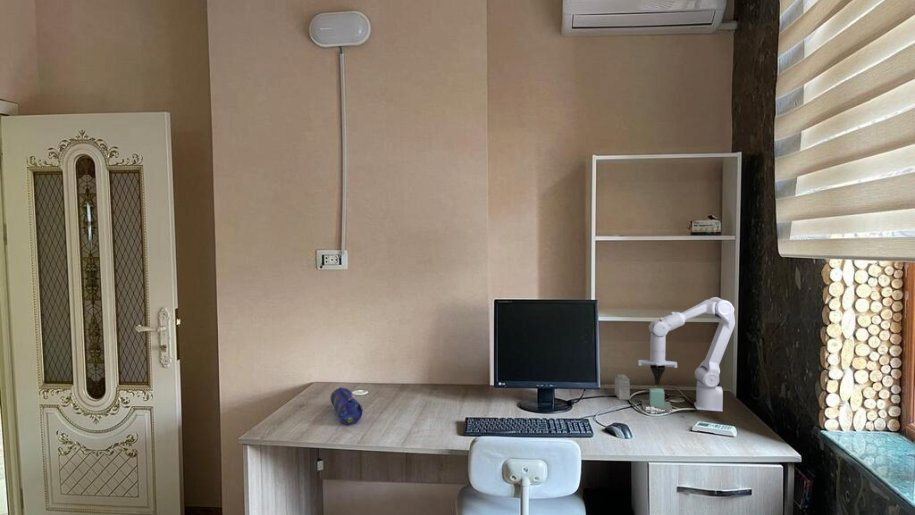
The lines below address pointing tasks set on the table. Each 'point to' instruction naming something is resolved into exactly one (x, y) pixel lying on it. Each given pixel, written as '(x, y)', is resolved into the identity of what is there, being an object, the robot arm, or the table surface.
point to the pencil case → (346, 406)
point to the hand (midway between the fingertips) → (657, 384)
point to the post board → (666, 407)
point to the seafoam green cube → (656, 397)
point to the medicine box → (622, 387)
